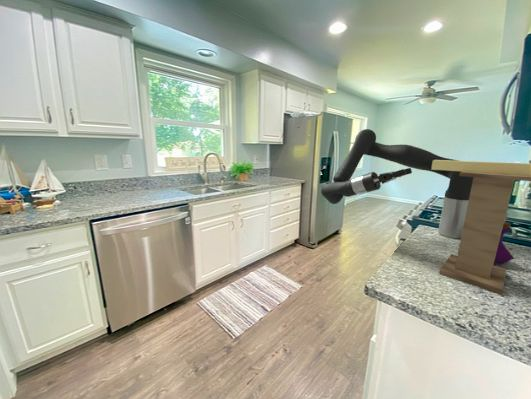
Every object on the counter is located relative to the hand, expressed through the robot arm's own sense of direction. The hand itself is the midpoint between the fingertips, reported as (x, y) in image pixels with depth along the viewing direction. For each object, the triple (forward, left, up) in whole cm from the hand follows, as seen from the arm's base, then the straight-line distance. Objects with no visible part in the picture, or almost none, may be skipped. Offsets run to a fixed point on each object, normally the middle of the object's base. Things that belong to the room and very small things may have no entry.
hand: (408, 171), depth 84 cm
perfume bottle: (-13, +26, -31) cm, 42 cm away
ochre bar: (+3, +19, +1) cm, 19 cm away
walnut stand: (+3, +23, -31) cm, 38 cm away
